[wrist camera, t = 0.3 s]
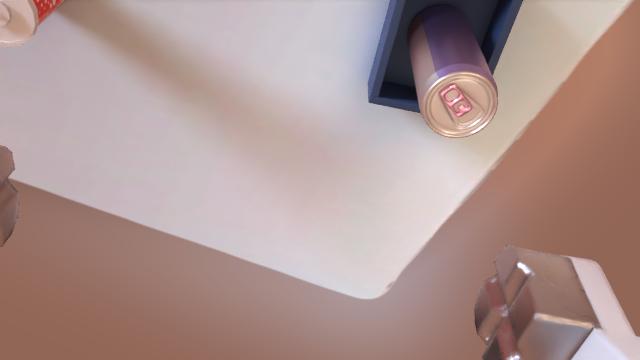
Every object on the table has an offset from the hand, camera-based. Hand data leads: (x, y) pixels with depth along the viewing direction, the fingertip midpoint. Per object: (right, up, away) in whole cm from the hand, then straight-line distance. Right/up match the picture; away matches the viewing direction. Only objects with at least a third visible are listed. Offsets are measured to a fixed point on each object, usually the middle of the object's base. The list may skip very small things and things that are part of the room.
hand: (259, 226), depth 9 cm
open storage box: (+12, +15, +46) cm, 50 cm away
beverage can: (+12, +15, +46) cm, 50 cm away
